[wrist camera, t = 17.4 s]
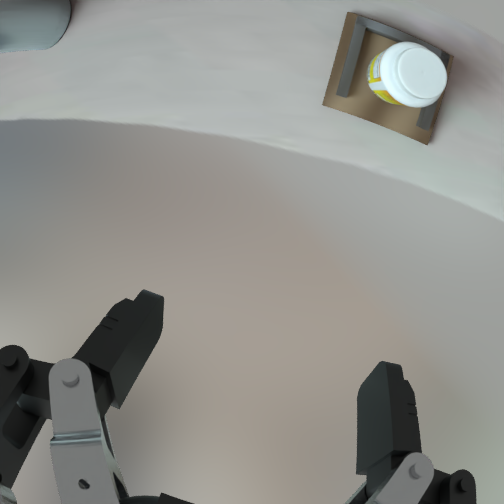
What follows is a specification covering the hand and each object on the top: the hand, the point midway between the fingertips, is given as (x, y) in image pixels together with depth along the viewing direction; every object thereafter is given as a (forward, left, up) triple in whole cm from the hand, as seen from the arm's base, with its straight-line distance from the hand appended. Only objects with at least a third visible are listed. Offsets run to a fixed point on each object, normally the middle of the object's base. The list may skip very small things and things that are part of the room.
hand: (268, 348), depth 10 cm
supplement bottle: (+6, +12, -25) cm, 29 cm away
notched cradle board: (+6, +12, -26) cm, 30 cm away
